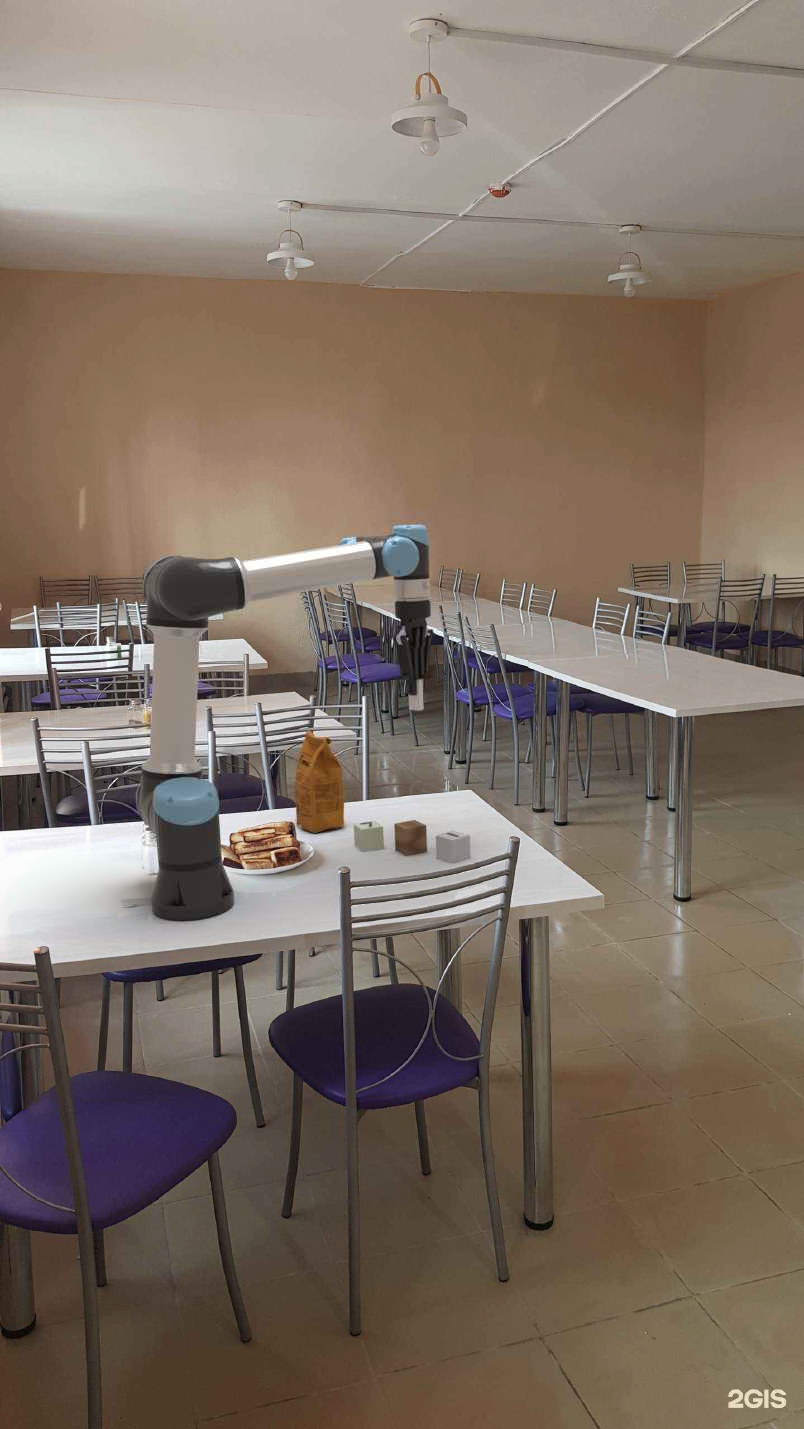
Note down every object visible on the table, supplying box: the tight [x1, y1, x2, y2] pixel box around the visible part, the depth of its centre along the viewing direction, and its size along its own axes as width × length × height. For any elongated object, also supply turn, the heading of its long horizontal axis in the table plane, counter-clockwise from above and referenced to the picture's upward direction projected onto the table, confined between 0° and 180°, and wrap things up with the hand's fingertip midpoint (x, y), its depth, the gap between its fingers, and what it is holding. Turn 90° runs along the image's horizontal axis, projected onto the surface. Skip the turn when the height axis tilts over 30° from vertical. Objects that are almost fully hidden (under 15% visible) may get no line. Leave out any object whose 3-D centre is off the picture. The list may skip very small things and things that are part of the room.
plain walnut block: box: [394, 819, 428, 857], centre depth 226 cm, size 5×5×6 cm
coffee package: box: [294, 730, 345, 834], centre depth 246 cm, size 10×12×22 cm
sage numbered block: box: [353, 820, 385, 853], centre depth 231 cm, size 5×5×5 cm
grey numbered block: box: [435, 829, 471, 864], centre depth 221 cm, size 5×5×5 cm
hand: (416, 709), depth 227 cm, fingers closed
